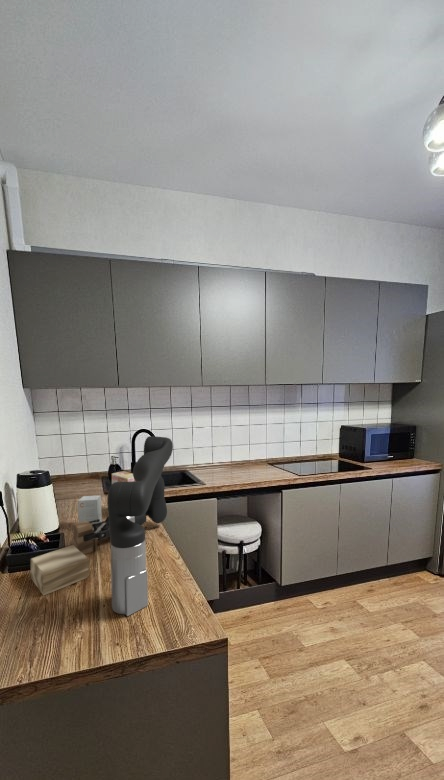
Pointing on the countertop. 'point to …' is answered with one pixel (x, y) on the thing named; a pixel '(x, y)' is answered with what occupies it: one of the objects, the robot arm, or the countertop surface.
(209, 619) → the countertop surface
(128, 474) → the coffeecake box
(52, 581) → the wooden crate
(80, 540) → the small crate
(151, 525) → the countertop surface
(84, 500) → the small box
